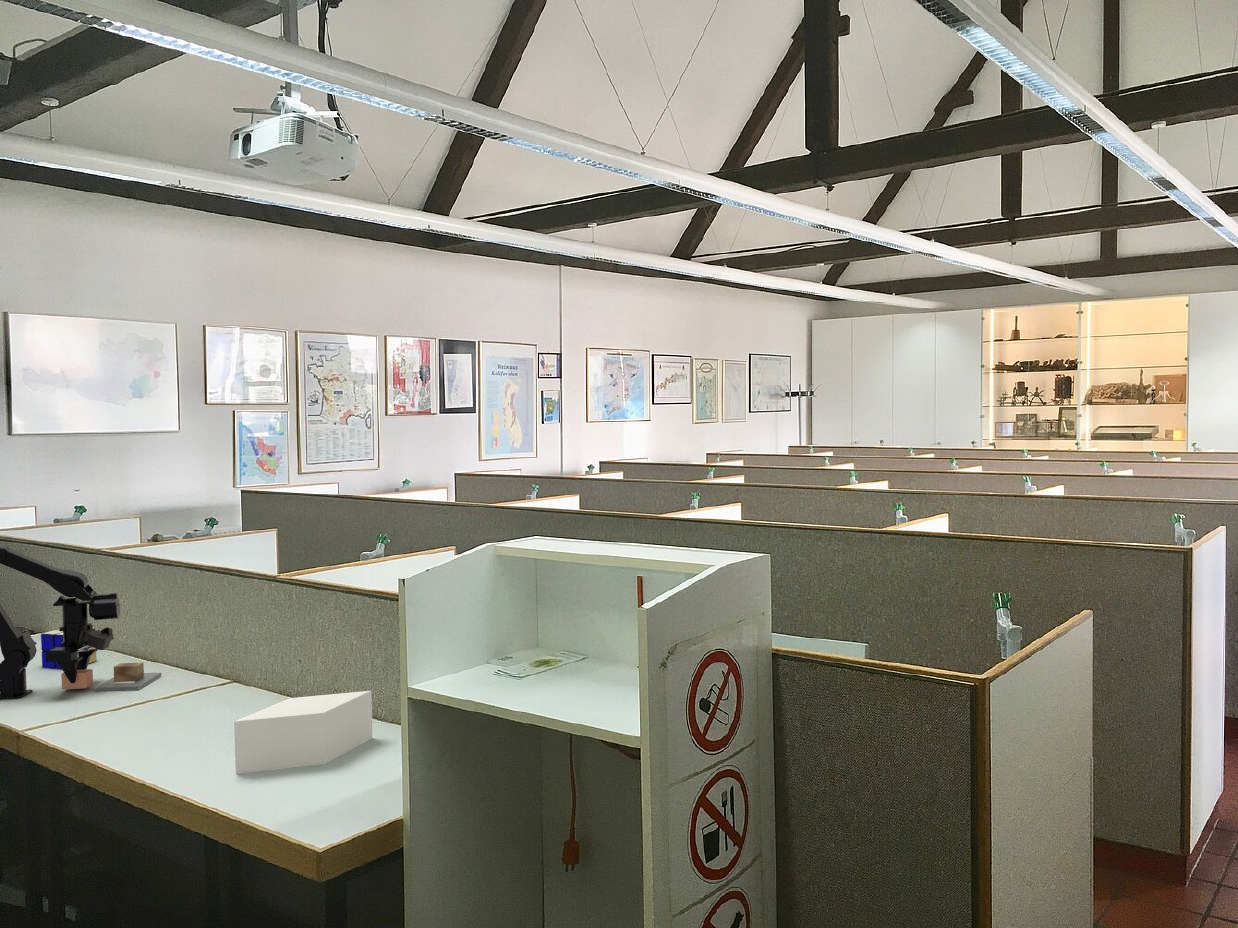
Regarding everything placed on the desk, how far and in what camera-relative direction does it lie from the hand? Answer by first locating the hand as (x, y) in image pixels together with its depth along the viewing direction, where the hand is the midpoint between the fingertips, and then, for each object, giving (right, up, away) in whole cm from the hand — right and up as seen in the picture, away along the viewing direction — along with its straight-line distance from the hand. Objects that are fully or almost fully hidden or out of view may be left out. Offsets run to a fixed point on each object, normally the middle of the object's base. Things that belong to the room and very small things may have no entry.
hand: (77, 680), depth 250 cm
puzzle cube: (-18, -2, +27) cm, 32 cm away
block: (+77, -4, -52) cm, 93 cm away
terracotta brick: (0, -2, 0) cm, 2 cm away
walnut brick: (+11, -1, +6) cm, 12 cm away
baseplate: (+11, -2, +6) cm, 12 cm away
